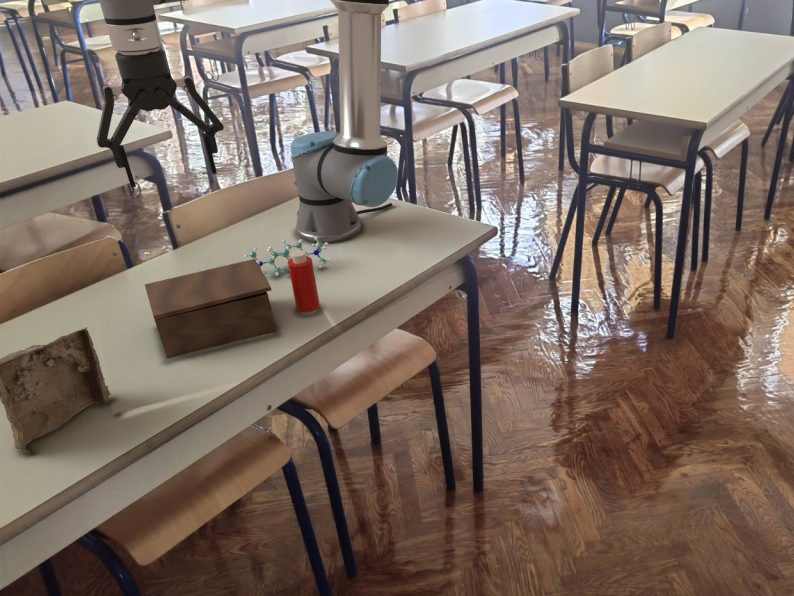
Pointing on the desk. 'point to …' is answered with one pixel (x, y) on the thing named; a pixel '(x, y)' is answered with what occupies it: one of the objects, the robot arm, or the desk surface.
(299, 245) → the molecule model
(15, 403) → the mineral sample
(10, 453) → the desk surface
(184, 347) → the storage box
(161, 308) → the lid
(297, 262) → the bottle
